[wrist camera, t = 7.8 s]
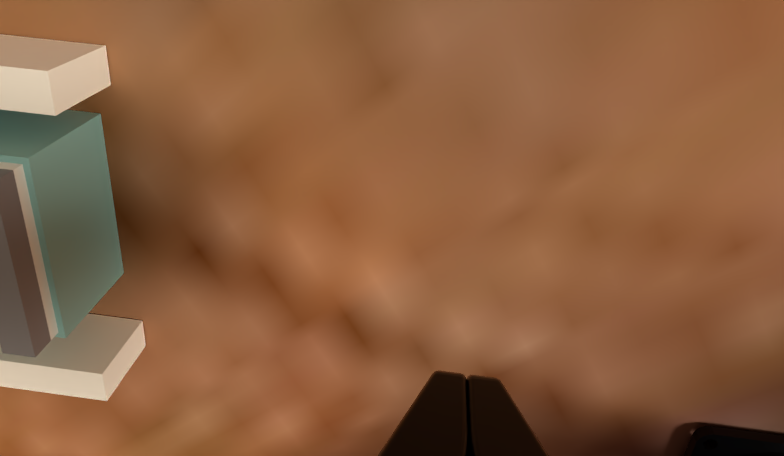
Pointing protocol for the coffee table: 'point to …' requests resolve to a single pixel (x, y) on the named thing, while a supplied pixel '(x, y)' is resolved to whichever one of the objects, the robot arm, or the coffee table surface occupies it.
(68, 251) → the cabinet
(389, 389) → the coffee table surface
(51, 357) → the cream flat base plank
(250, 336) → the coffee table surface
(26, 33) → the coffee table surface
